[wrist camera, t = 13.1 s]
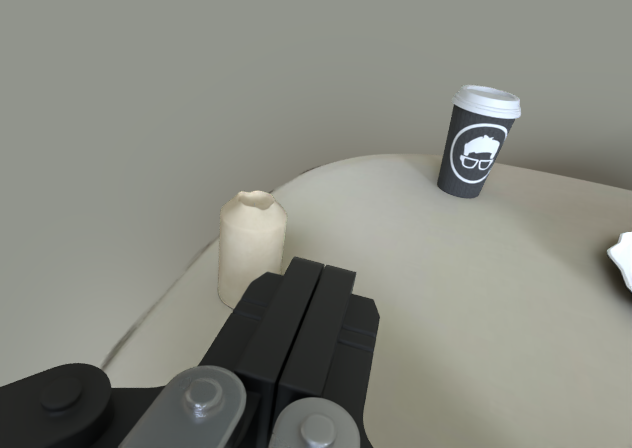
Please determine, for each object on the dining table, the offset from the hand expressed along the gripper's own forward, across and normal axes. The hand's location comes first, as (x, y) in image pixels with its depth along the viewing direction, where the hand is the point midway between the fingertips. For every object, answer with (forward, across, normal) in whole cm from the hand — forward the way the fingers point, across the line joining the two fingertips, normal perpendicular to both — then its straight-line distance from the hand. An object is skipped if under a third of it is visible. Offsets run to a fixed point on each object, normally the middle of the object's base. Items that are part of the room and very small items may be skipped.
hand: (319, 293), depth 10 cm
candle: (+22, +9, +20) cm, 31 cm away
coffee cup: (+58, -12, +20) cm, 62 cm away
